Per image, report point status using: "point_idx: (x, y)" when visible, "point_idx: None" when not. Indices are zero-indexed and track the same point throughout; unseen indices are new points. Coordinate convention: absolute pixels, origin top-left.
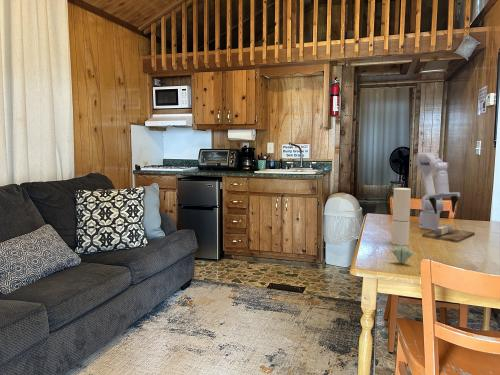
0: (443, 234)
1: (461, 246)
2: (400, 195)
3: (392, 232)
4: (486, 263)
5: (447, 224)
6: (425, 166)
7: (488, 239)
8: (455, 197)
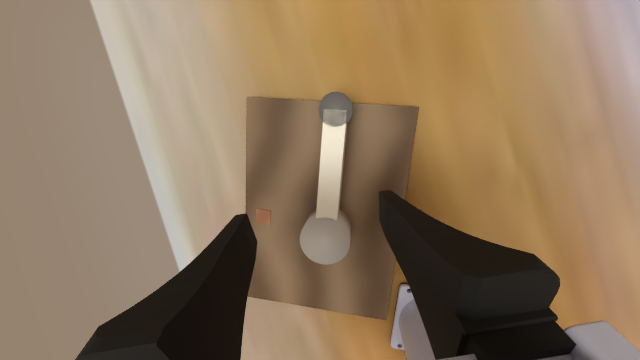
0: None
1: (216, 36)
2: None
3: None
4: None
5: (331, 258)
6: None
7: (190, 241)
8: (100, 329)
